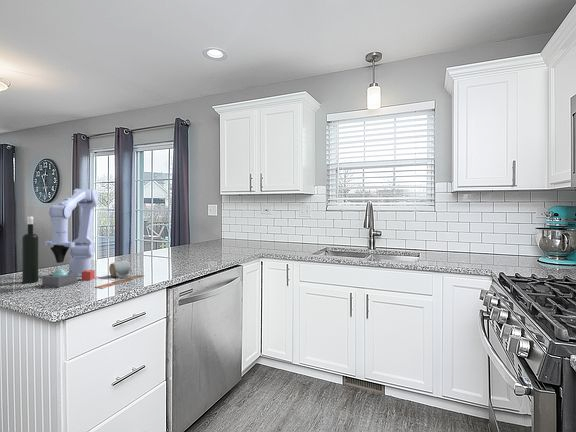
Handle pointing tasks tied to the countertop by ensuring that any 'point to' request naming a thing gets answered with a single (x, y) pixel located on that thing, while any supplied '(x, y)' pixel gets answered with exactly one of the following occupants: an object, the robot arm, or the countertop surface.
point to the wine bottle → (30, 255)
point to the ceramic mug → (120, 269)
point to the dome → (59, 273)
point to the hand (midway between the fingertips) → (60, 262)
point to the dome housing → (59, 280)
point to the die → (88, 274)
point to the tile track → (119, 281)
